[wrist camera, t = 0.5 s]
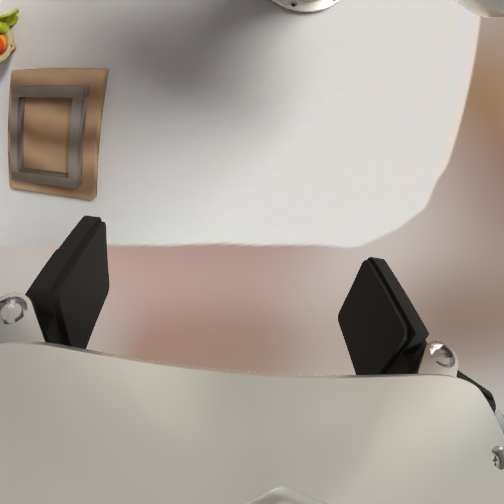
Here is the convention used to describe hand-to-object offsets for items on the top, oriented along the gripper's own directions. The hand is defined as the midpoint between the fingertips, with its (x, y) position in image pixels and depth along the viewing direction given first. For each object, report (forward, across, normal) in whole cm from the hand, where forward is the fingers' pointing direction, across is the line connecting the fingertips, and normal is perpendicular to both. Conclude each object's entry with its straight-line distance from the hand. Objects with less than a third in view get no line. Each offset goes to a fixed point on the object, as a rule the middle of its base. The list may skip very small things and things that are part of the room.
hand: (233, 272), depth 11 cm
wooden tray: (+36, +27, +5) cm, 45 cm away
